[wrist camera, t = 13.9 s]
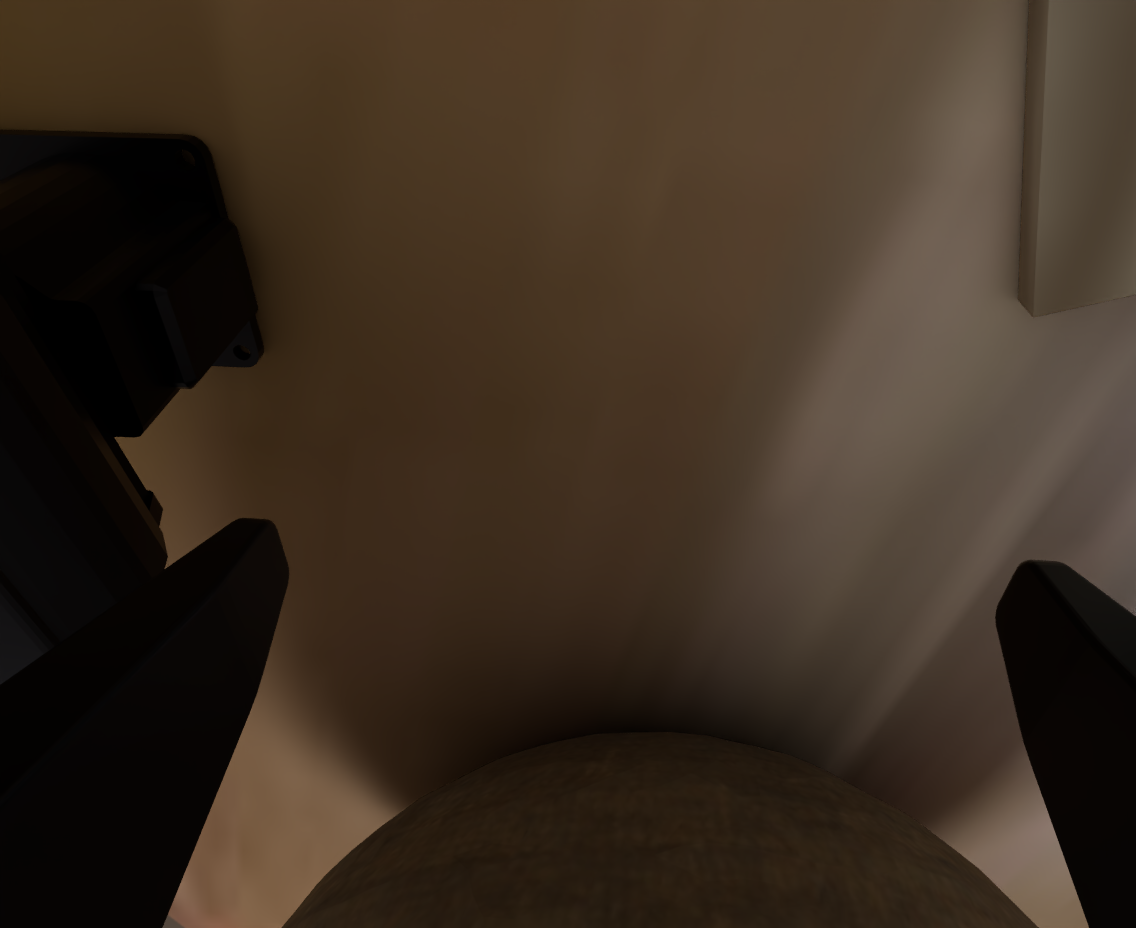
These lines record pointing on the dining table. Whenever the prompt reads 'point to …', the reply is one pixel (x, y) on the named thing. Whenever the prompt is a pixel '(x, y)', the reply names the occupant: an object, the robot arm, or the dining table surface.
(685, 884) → the brown bowl
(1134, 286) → the grey l-shaped bracket
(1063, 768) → the robot arm
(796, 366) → the dining table surface
